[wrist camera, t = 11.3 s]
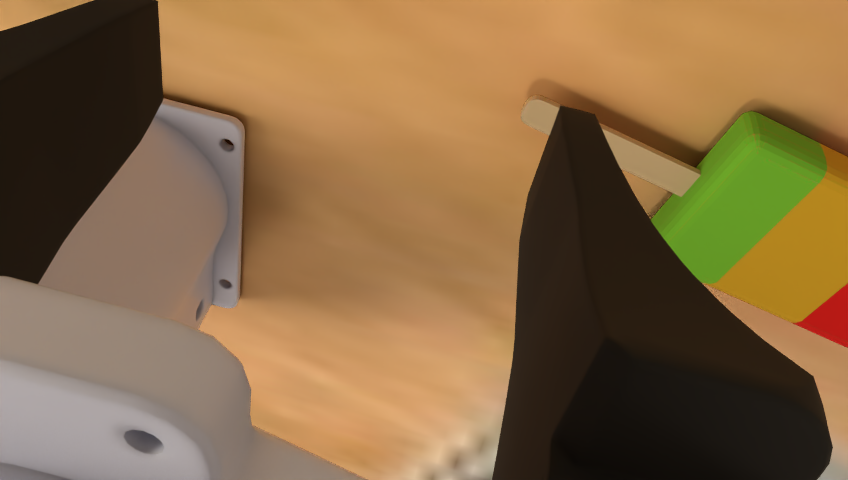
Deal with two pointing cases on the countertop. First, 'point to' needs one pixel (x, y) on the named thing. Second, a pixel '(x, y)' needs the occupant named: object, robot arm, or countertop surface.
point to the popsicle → (751, 215)
